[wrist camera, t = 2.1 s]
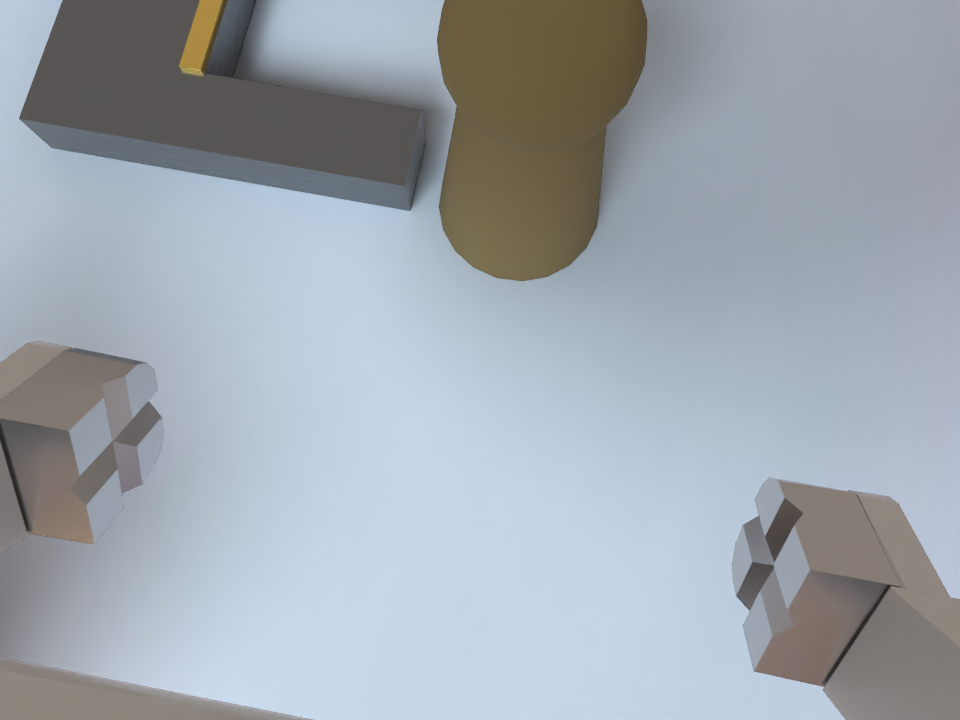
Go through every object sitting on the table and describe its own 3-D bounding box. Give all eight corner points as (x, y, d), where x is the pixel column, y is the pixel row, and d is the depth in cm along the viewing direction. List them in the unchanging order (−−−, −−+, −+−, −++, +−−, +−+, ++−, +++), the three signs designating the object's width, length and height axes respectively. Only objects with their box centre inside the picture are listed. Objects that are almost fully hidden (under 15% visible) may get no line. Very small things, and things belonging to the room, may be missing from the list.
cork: (531, 104, 28) (567, -158, 17) (631, 218, 27) (736, 15, 16) (407, 191, 27) (362, -28, 16) (505, 312, 26) (526, 164, 15)
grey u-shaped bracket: (477, -94, 30) (478, -142, 28) (409, 210, 27) (404, 183, 25) (155, -146, 30) (131, -196, 28) (51, 147, 27) (15, 115, 25)
